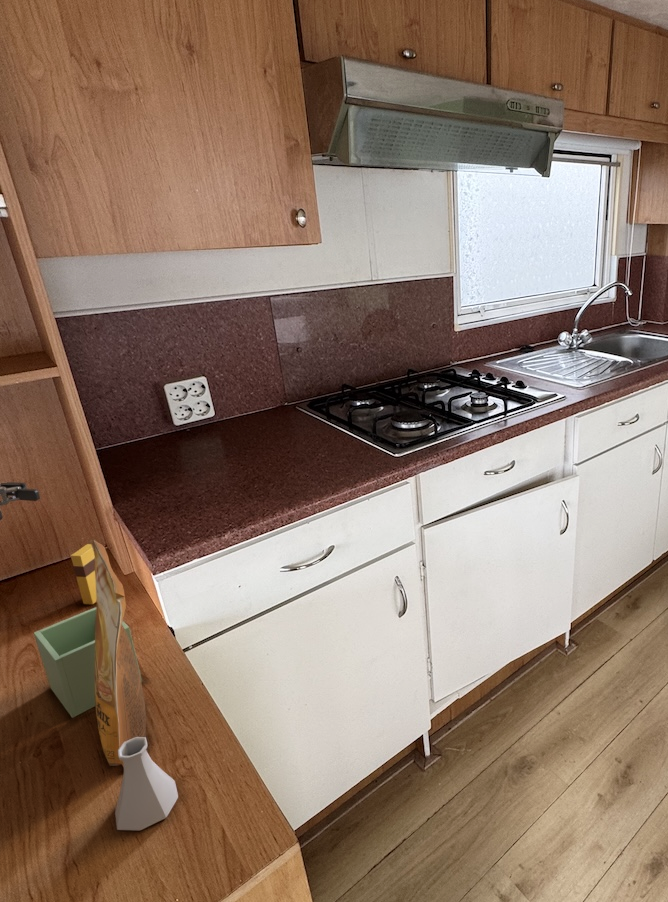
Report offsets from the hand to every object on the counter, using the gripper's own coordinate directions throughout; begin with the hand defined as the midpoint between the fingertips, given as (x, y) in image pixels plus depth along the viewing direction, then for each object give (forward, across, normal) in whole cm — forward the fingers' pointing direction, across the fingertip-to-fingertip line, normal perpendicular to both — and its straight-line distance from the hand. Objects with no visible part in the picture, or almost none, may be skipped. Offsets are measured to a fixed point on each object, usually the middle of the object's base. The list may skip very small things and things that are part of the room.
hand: (19, 504), depth 110 cm
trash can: (+28, +23, -20) cm, 41 cm away
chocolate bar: (+11, 0, -20) cm, 23 cm away
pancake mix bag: (+39, +31, -20) cm, 54 cm away
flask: (+50, +42, -20) cm, 68 cm away
